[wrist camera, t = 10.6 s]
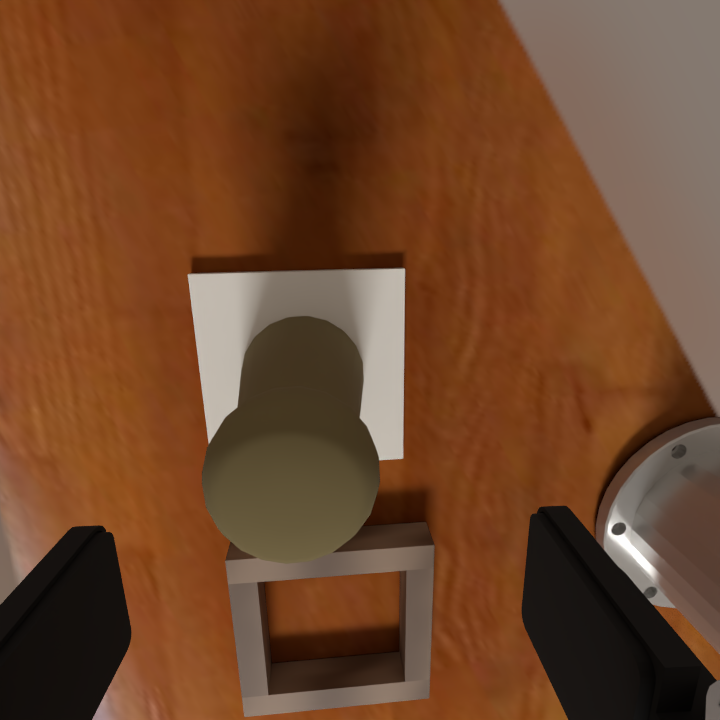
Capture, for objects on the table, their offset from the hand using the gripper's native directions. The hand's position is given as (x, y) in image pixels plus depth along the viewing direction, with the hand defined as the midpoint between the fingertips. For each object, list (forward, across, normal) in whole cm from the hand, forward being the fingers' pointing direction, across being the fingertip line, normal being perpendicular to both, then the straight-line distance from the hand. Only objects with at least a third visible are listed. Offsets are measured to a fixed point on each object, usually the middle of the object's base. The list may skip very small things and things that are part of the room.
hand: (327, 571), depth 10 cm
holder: (+14, 0, +14) cm, 20 cm away
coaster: (+14, +2, -1) cm, 14 cm away
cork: (+13, +2, 0) cm, 13 cm away
